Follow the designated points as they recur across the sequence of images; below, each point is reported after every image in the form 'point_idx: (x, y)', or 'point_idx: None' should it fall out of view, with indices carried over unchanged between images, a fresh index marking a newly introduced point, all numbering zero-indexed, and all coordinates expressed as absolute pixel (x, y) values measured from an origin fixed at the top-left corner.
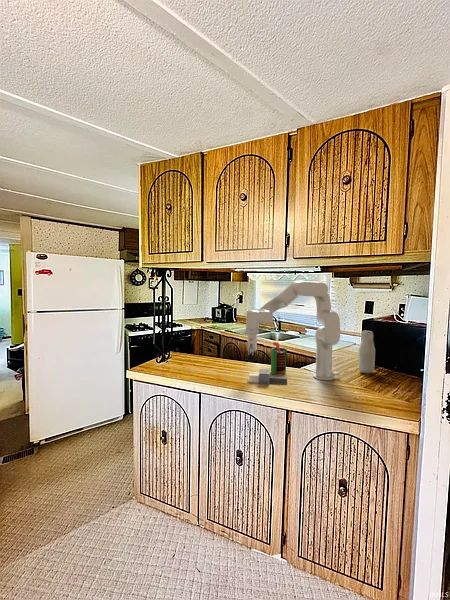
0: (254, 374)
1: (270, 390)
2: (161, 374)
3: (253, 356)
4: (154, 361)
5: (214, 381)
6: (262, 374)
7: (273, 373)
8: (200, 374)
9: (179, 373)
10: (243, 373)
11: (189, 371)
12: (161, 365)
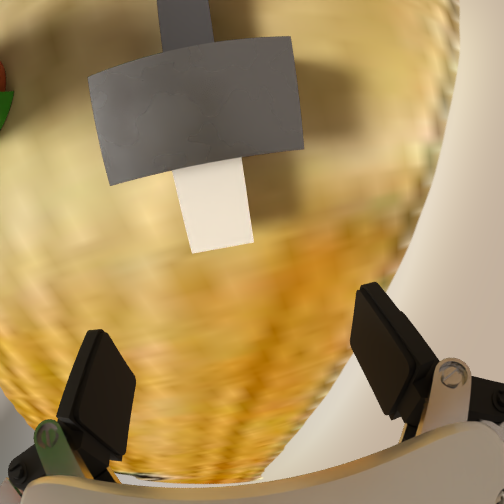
0: (208, 205)
1: (385, 53)
2: (258, 461)
3: (422, 342)
4: (160, 481)
5: (292, 371)
6: (298, 111)
7: (5, 111)
8: (213, 424)
9: (231, 450)
10: (82, 300)
11: (196, 444)
12: (181, 474)
